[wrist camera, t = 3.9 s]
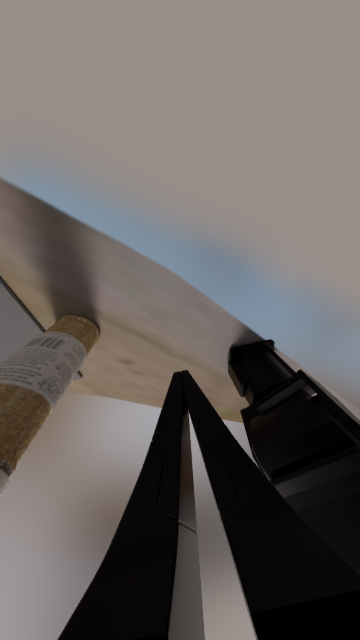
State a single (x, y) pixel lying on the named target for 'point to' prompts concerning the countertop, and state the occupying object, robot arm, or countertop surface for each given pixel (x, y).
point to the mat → (16, 325)
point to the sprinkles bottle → (38, 384)
